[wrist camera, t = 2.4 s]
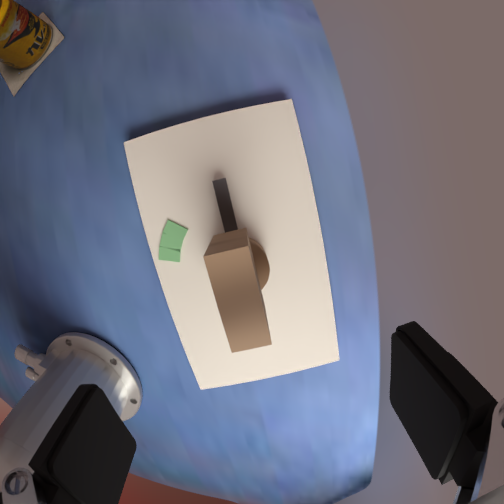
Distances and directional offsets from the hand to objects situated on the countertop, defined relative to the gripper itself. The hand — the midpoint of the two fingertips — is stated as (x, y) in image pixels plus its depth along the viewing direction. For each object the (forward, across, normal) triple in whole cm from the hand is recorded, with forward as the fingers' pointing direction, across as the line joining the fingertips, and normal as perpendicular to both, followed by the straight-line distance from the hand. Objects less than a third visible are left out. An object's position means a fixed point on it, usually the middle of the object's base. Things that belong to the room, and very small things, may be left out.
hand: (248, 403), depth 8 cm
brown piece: (+16, +1, -2) cm, 17 cm away
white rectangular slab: (+18, +1, 0) cm, 18 cm away
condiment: (+18, +19, -28) cm, 38 cm away
